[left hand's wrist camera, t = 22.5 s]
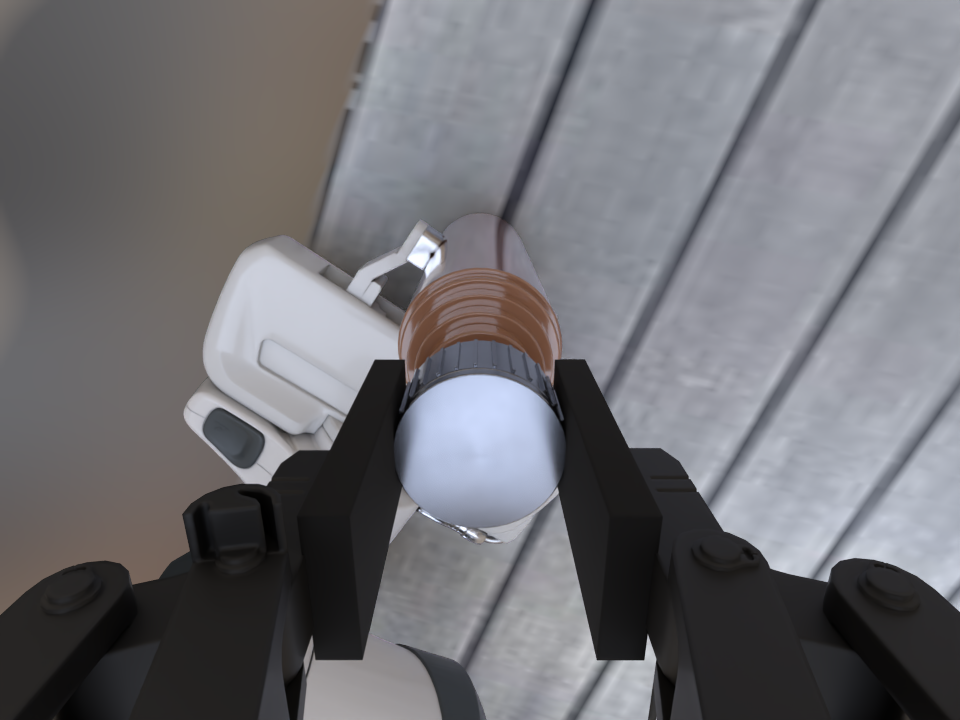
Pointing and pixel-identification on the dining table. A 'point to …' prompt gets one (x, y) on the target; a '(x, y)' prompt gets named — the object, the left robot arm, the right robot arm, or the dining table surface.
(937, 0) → the dining table surface
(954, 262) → the dining table surface
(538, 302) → the bottle
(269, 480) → the right robot arm
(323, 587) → the left robot arm
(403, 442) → the cap
